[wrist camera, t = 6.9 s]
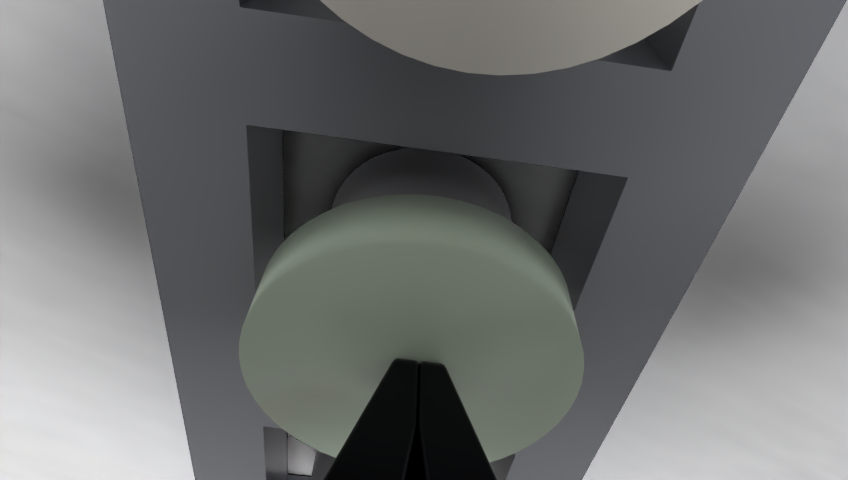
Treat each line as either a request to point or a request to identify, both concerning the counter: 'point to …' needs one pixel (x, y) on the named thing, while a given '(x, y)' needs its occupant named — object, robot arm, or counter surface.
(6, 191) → the counter surface
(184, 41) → the panel
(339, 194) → the sage button
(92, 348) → the counter surface
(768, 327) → the counter surface
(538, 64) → the ivory button
